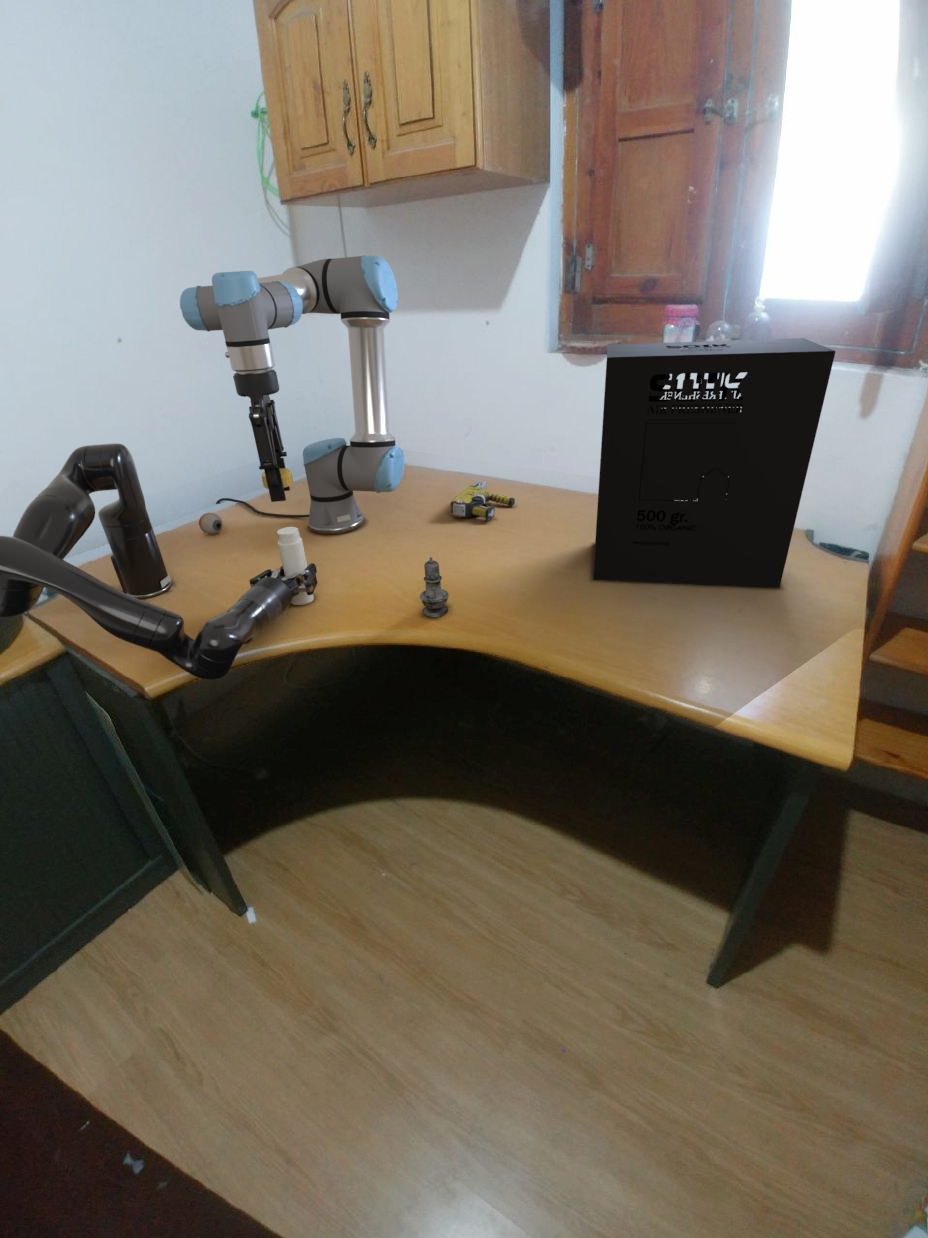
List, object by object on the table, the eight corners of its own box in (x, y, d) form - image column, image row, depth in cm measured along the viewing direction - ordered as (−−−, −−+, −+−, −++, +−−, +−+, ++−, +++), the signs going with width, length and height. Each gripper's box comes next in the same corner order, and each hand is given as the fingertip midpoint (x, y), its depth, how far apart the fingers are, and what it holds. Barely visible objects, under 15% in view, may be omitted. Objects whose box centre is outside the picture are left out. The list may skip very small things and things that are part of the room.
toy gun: (523, 485, 181) (476, 478, 185) (501, 509, 161) (448, 500, 165) (521, 500, 184) (475, 493, 187) (499, 525, 163) (447, 517, 167)
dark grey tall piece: (446, 618, 120) (442, 563, 114) (417, 616, 122) (412, 562, 116) (452, 604, 125) (448, 551, 119) (425, 602, 126) (420, 550, 120)
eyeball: (212, 539, 164) (206, 518, 161) (197, 535, 167) (191, 515, 164) (230, 531, 169) (224, 511, 166) (215, 528, 172) (210, 508, 169)
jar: (302, 592, 134) (288, 524, 126) (318, 597, 132) (304, 528, 124) (285, 602, 131) (270, 532, 123) (301, 607, 128) (286, 536, 120)
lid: (290, 488, 116) (288, 475, 115) (260, 490, 116) (258, 477, 115) (295, 479, 121) (293, 467, 120) (267, 481, 121) (264, 469, 120)
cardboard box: (759, 548, 141) (803, 338, 119) (779, 587, 124) (835, 350, 102) (595, 543, 149) (607, 344, 126) (593, 579, 132) (607, 357, 109)
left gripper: (234, 618, 119) (275, 580, 133) (300, 623, 116) (335, 583, 130) (224, 584, 115) (268, 549, 130) (293, 588, 112) (330, 551, 127)
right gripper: (242, 365, 115) (268, 483, 127) (221, 380, 100) (253, 513, 111) (282, 362, 116) (304, 479, 128) (267, 376, 100) (294, 509, 112)
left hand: (301, 566), depth 130 cm, fingers closed on jar, 5 cm apart
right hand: (280, 495), depth 120 cm, fingers closed on lid, 5 cm apart
